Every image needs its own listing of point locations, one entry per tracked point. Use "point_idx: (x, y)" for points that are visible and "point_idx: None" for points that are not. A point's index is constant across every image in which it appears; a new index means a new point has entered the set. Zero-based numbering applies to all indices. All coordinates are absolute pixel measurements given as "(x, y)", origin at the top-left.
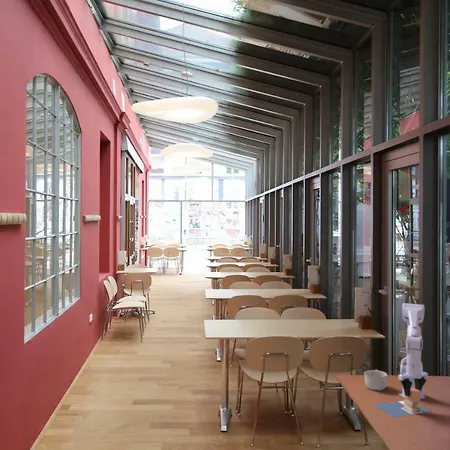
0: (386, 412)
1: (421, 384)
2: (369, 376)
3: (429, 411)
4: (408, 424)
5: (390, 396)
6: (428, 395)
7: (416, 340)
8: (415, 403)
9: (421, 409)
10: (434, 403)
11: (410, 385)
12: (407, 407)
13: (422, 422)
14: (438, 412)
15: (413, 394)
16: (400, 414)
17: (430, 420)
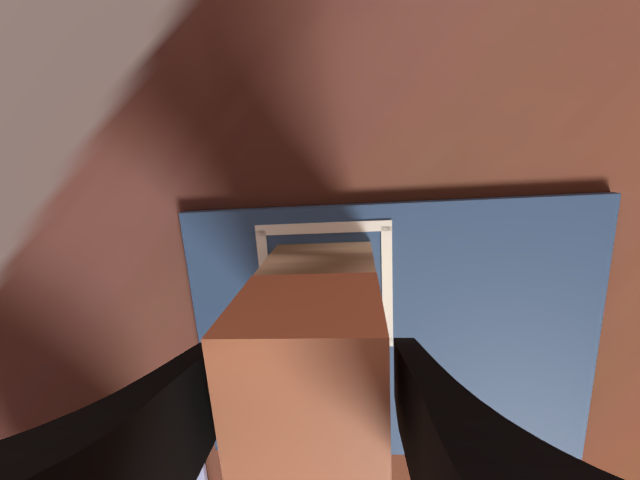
0: (598, 306)
1: (100, 435)
2: None
3: (190, 222)
4: (583, 41)
5: None
6: None
7: None
8: (322, 268)
9: (232, 276)
10: (41, 358)
11: (478, 450)
12: None
13: (406, 51)
14: (112, 208)
15: (359, 316)
16: (504, 236)
17: (296, 75)
